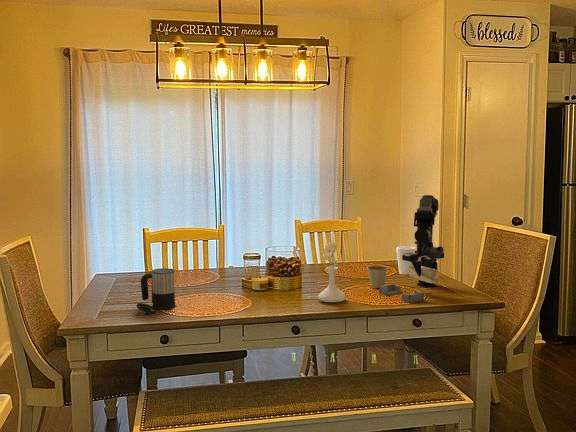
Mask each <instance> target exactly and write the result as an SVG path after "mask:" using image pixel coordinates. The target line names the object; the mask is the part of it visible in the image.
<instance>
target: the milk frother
mask: <svg viewBox="0 0 576 432" xmlns="http://www.w3.org/2000/svg"><path fill="white" fill-rule="evenodd" d="M175 272H176V269H174V268H169V267H168V268H166V267H165V268H164V267H162V268H154V269H152V270H150V272H148V273H145V274H144V275H142V277H141V279H140V290H141V299H142V301H147V300H149V297H150V296H149V285H148V283H149V282H148V280H149V279H151V303H152V305H151V304H147V303H143V302H138V303H136V305H135V306H136V308H137V309H138V310H139V311H142V312H143V313H146V314H154V313H156V310H159V311H163V310H171V309H174V308H175V307H177V305H176V296H175V293H176V292H175V290H176V289H175V287H176V286H175Z"/></svg>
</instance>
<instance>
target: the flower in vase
mask: <svg viewBox="0 0 576 432" xmlns="http://www.w3.org/2000/svg"><path fill="white" fill-rule="evenodd" d="M337 247H338V245H336V242H334V241H329V243H327V245H325V246H324V249H323V251H322V254H323V255H322V258H323V259H324V261H325V260H327V261H328V263H329V264H331V265H332V266H328V267H327V266H326V268H325V269H326V271H327V273H328V279H329V280H328V281H329V282H328V286H327V287H326V288H325V289H324V290H322V291H320V293H319V294H318V296H317V298H318V300H320V301H322V302H325V303H340V302H343V301H345V300H346V299H347V297H346V294H345V292H343V291H342V290H340V289H339V288H338V287H337V286H336V274H337V270H338V269H339V267H338V260H336V257H335V255H334V254H335V253H336V250H337ZM331 258H333V261H332V260H331Z"/></svg>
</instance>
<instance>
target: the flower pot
mask: <svg viewBox="0 0 576 432" xmlns="http://www.w3.org/2000/svg"><path fill="white" fill-rule="evenodd" d="M366 269H367V272H368V278H369V284H370V287H371V288H374V289H375V288H376V289H378V288H379V289H380V286H382V285H386V278H387V277H386V276H387V272H388V270H389V268H388V266H383V265H370V266H367V267H366Z"/></svg>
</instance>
